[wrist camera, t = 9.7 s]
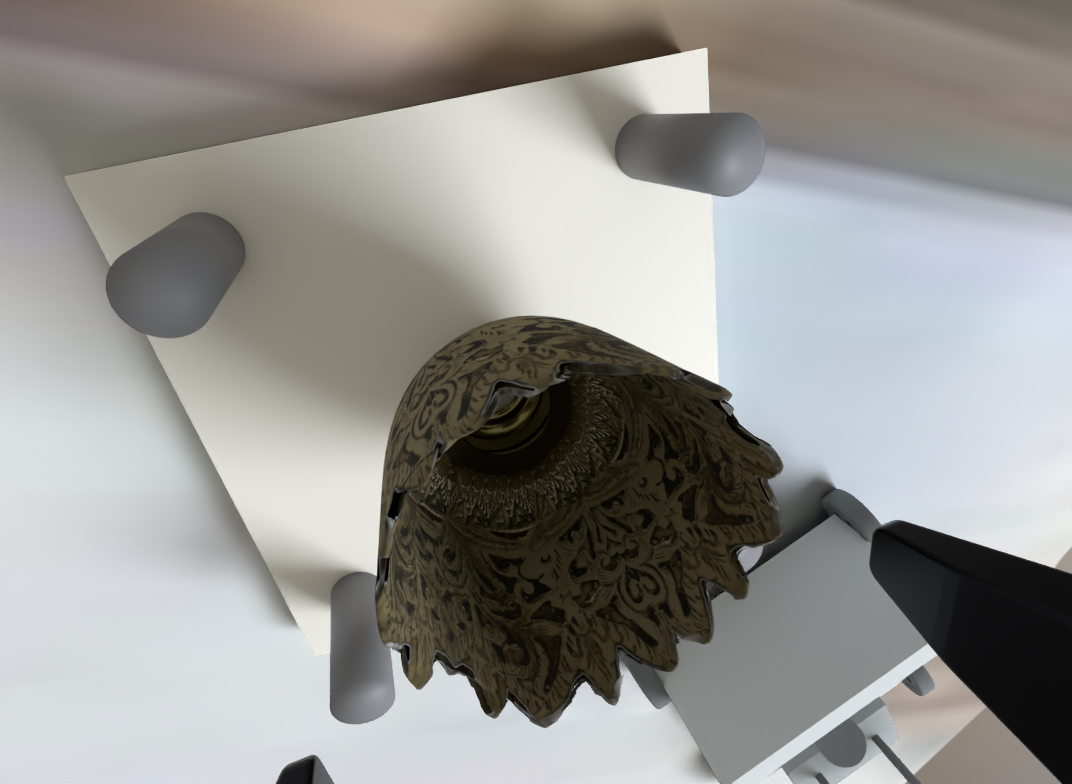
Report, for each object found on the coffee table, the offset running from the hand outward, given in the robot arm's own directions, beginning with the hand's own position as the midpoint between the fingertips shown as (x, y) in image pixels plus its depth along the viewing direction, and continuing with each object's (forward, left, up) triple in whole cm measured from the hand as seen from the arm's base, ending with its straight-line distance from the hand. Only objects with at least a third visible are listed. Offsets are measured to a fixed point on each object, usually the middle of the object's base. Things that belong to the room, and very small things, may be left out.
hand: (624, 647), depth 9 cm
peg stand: (0, 0, -11) cm, 11 cm away
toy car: (-11, +20, -11) cm, 26 cm away
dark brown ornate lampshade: (0, 0, -10) cm, 10 cm away
